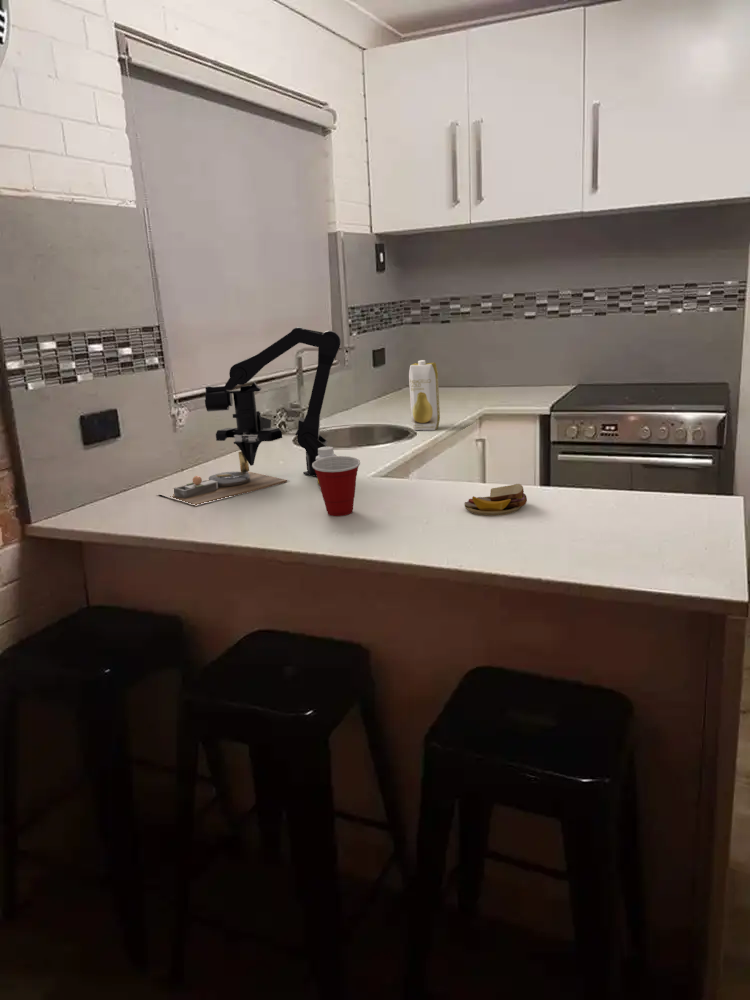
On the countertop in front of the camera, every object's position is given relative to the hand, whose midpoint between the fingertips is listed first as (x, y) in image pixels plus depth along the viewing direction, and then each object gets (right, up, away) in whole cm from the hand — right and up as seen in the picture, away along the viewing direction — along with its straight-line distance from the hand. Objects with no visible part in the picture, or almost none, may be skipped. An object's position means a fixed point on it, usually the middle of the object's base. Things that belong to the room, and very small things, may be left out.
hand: (251, 465), depth 208 cm
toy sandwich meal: (+61, -12, -42) cm, 75 cm away
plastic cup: (+26, -13, -37) cm, 47 cm away
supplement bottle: (+22, -6, -13) cm, 27 cm away
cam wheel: (-5, -4, -3) cm, 7 cm away
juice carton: (+52, +15, +57) cm, 78 cm away
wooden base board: (-7, -6, -7) cm, 12 cm away
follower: (-11, -7, -11) cm, 17 cm away
